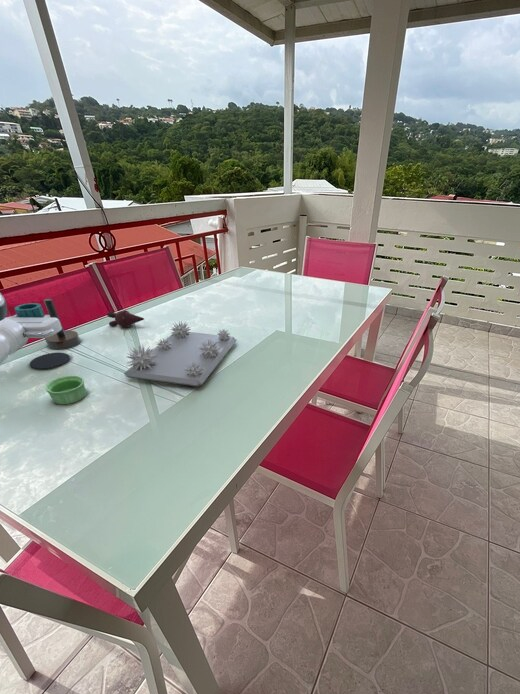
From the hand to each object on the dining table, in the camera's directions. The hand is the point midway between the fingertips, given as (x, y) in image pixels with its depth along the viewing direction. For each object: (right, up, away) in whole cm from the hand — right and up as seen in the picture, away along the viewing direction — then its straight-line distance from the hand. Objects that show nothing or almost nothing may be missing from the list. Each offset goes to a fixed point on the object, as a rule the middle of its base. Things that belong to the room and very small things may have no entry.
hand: (34, 316), depth 101 cm
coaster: (-1, -13, +8) cm, 15 cm away
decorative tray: (+42, -12, +14) cm, 46 cm away
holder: (-4, -5, +19) cm, 20 cm away
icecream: (+11, +4, +34) cm, 36 cm away
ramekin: (+16, -25, -8) cm, 31 cm away
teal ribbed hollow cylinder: (0, -5, +2) cm, 5 cm away
